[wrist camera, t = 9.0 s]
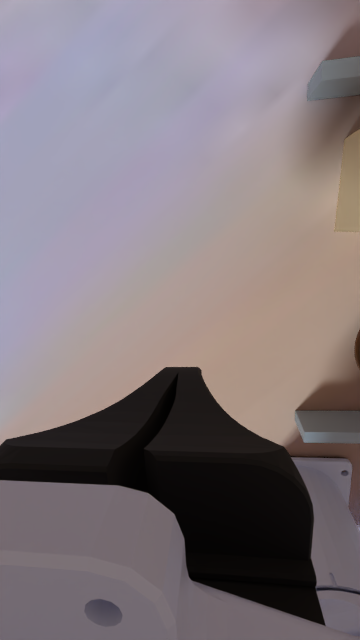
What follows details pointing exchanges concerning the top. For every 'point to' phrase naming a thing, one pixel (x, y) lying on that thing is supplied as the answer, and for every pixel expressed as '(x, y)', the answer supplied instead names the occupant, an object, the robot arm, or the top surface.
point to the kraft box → (349, 187)
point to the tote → (332, 425)
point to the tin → (357, 350)
